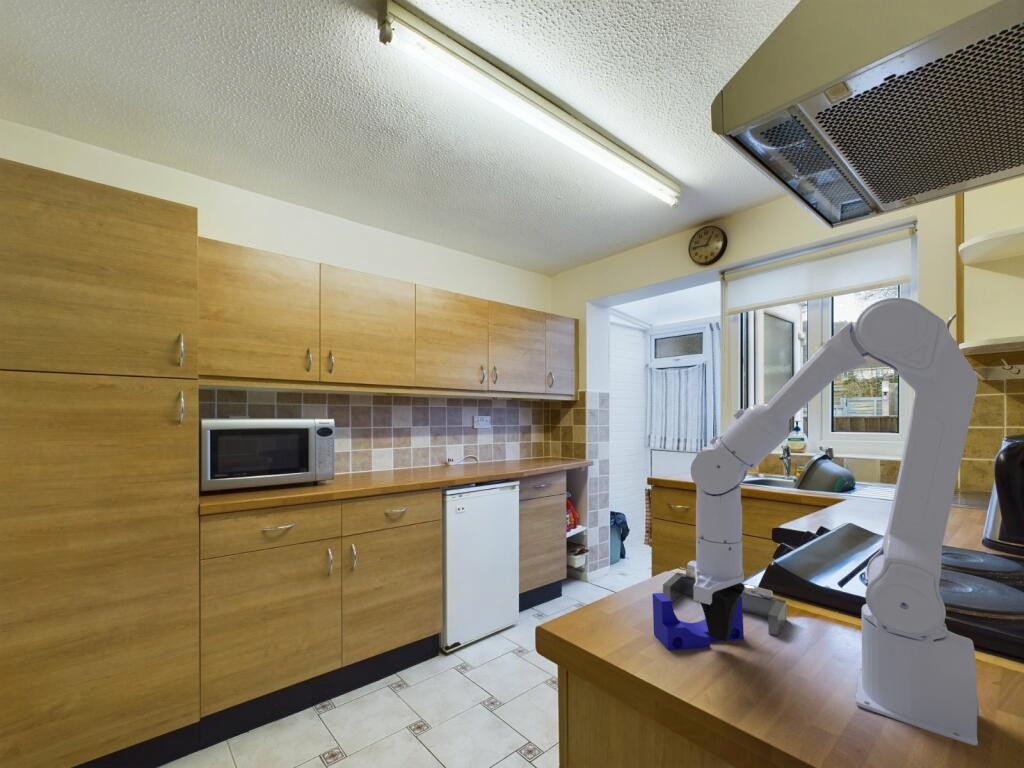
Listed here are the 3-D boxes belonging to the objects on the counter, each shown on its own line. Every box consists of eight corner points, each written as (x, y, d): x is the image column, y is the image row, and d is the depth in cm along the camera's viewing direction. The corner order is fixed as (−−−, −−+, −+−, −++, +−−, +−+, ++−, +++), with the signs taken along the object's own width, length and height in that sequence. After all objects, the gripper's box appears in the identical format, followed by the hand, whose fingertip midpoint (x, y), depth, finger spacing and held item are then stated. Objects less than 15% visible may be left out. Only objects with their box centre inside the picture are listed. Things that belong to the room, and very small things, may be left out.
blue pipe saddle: (668, 651, 62) (666, 605, 63) (653, 636, 67) (652, 593, 67) (750, 645, 64) (748, 600, 64) (731, 630, 68) (729, 588, 69)
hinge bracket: (786, 619, 71) (786, 592, 71) (777, 637, 66) (777, 608, 66) (677, 588, 82) (677, 565, 82) (663, 602, 77) (662, 577, 77)
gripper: (705, 519, 71) (705, 608, 71) (669, 544, 60) (669, 649, 60) (756, 528, 66) (756, 623, 66) (727, 557, 55) (728, 671, 55)
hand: (718, 637), depth 63 cm, fingers closed
